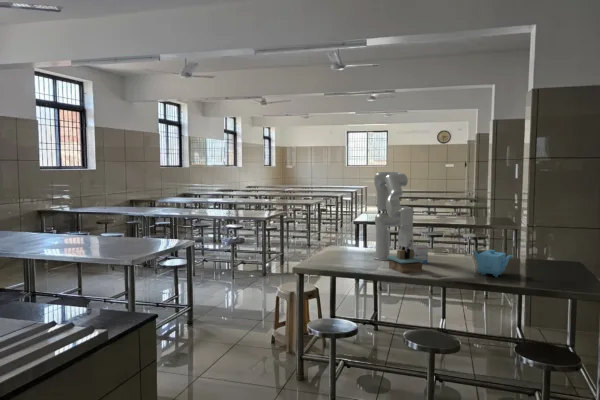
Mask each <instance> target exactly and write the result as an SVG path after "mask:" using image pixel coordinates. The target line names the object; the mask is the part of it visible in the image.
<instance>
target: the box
mask: <svg viewBox="0 0 600 400" xmlns="http://www.w3.org/2000/svg"><path fill="white" fill-rule="evenodd" d="M388 269H390V270H393V271H395V272H398V273H401V274H409V273H419V272H422V271H423V263H420V262H414V263H408V264H404V263H399V262H396V261H393V260H388Z"/></svg>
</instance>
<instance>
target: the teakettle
mask: <svg viewBox="0 0 600 400" xmlns="http://www.w3.org/2000/svg"><path fill="white" fill-rule="evenodd" d="M470 251H471V252H472V253H473V255H474V256H475V261H476V263H477V269H476V270H477V273H480V276H486V275H487V274H489V275H492V277H493V276H495V277H494V278H499V276H501V275H503V273H504V272H505V271H506V267H507V266H508V264H509V261H510V259H511V258H512V257H514V255H512V254H509V255H507V253H505V252H499V251H496V250H495V249H489V250H485V251H482V252H480V253H478V252H477V250H472V249H471V250H470Z"/></svg>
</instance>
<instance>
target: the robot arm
mask: <svg viewBox="0 0 600 400" xmlns="http://www.w3.org/2000/svg"><path fill="white" fill-rule="evenodd" d="M373 181H374V186H375V190H376V208H377V210H378V211H379V212H381V213H377V214H376V215H375V217H374V222H375V223H374V224H375V251H373V254H374V255H373V257H372V258H373V259H374V260H375V261H376V260H377V261H389V260H391V259H388V258H387V256H391V255H390V252H391V251H390V249H391V248H390V247H391V233H390V230H389V229H388V228H398V227H399V230H398V235H397V236H398V237H397V245H398V246H399V249H400V250H406V252H405V259H407V258H410V251H411V250H413V246H414V233H413V232H414V231H413V230H414V229H413V227H414V225H413V224H414V223H413V222H414V209H413V208H412V207H409V206H408V205H401V201H400V199H399V198H401V197H402V196H403V193H404V192H403V189H402V187H406V186H407V185H408V181H409V178H408V176H407V175H406V174H405V173H402V172H399V171H381V172H380V171H379V172H377V173H375V175H374V180H373Z"/></svg>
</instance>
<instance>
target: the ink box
mask: <svg viewBox="0 0 600 400" xmlns="http://www.w3.org/2000/svg"><path fill="white" fill-rule="evenodd" d="M412 250H414V257H417V258H420V259H423V260H424V262H420V263H422V264H424V265H427V264H428V260H429V246H428V245H424V244H423V245H413V249H412Z"/></svg>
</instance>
